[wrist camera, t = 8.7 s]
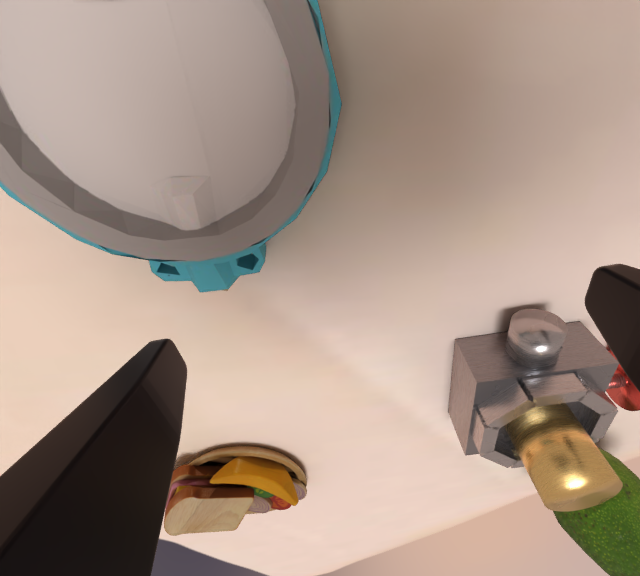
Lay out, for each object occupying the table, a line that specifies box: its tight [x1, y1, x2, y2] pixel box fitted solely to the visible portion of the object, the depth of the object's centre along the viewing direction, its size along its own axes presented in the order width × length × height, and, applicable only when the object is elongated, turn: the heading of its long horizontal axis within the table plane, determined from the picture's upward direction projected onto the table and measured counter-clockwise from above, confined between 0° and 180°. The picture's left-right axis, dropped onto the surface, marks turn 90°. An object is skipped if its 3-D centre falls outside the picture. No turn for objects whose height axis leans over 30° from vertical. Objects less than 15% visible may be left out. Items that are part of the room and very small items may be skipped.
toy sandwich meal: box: [164, 446, 307, 536], centre depth 35 cm, size 12×14×5 cm
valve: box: [448, 309, 640, 468], centre depth 27 cm, size 13×14×6 cm
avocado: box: [553, 448, 640, 576], centre depth 32 cm, size 8×8×12 cm
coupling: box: [504, 403, 623, 512], centre depth 24 cm, size 4×4×6 cm
